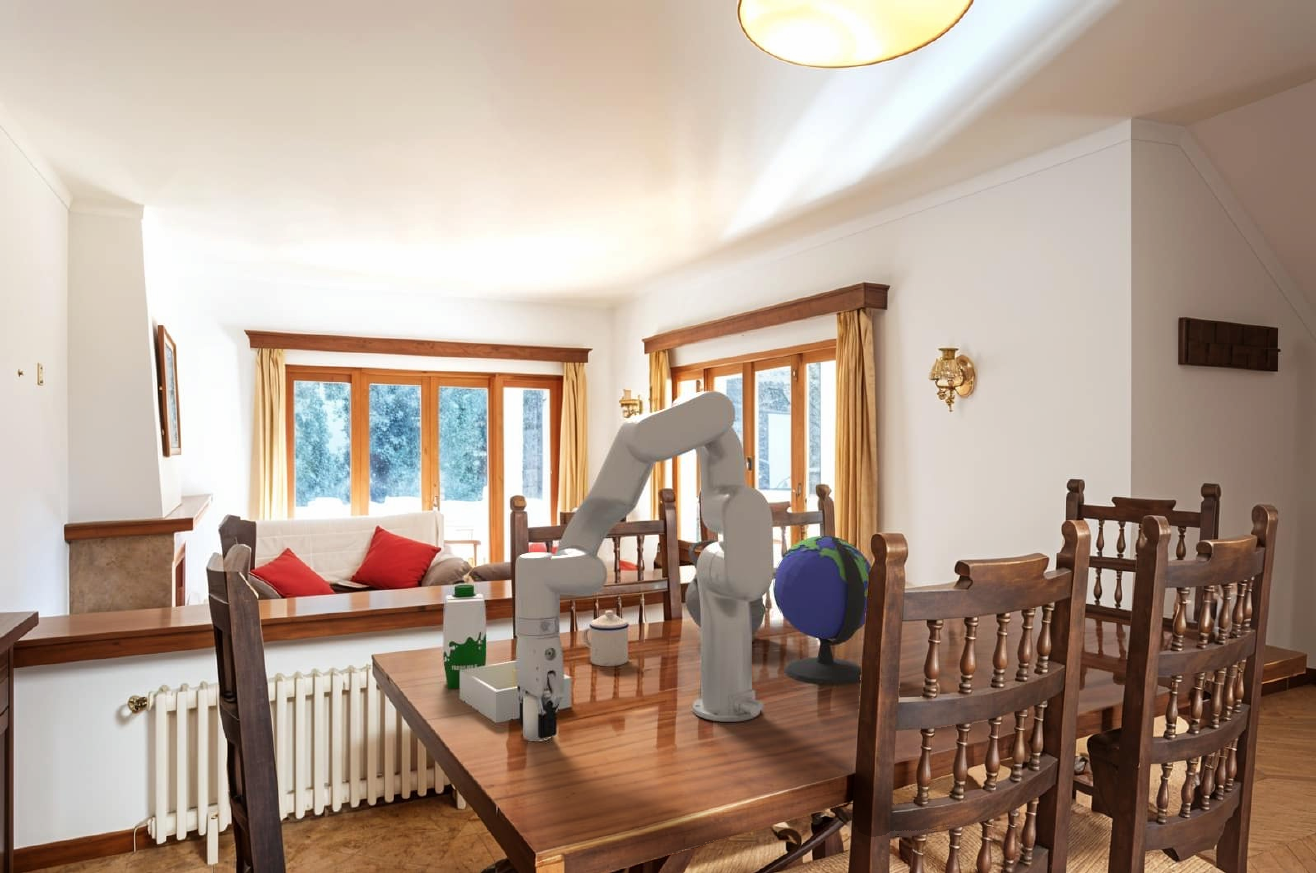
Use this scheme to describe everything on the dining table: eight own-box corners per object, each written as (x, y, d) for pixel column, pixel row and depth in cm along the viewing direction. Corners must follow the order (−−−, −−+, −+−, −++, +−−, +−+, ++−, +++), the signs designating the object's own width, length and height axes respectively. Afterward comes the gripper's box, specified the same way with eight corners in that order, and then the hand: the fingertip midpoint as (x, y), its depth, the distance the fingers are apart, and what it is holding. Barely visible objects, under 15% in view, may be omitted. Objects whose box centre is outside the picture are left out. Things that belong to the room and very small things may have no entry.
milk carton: (484, 675, 174) (484, 583, 175) (487, 687, 166) (487, 590, 166) (442, 679, 172) (442, 585, 172) (443, 691, 163) (443, 592, 164)
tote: (571, 707, 153) (571, 677, 153) (495, 723, 144) (495, 691, 144) (530, 685, 167) (530, 658, 168) (459, 698, 159) (459, 670, 159)
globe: (892, 669, 178) (891, 533, 179) (856, 694, 160) (855, 544, 160) (799, 654, 191) (798, 528, 191) (756, 677, 173) (755, 537, 173)
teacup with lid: (636, 660, 187) (636, 609, 187) (613, 669, 179) (613, 616, 179) (595, 653, 193) (595, 604, 193) (571, 661, 186) (571, 611, 186)
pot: (671, 636, 210) (671, 540, 210) (740, 628, 218) (739, 536, 219) (709, 655, 191) (709, 549, 191) (782, 645, 200) (782, 544, 200)
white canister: (557, 737, 137) (557, 696, 137) (531, 744, 134) (531, 702, 134) (544, 729, 141) (544, 689, 141) (518, 735, 138) (518, 694, 138)
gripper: (581, 632, 133) (581, 740, 133) (534, 614, 147) (534, 712, 147) (540, 638, 129) (541, 750, 129) (496, 619, 143) (496, 720, 143)
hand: (537, 729), depth 138 cm, fingers open, 6 cm apart
